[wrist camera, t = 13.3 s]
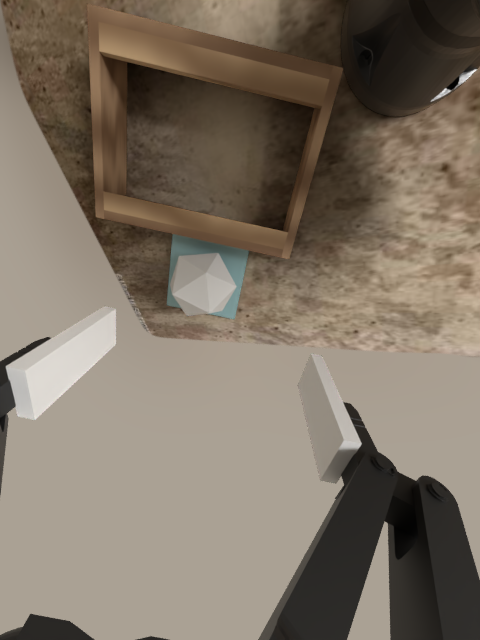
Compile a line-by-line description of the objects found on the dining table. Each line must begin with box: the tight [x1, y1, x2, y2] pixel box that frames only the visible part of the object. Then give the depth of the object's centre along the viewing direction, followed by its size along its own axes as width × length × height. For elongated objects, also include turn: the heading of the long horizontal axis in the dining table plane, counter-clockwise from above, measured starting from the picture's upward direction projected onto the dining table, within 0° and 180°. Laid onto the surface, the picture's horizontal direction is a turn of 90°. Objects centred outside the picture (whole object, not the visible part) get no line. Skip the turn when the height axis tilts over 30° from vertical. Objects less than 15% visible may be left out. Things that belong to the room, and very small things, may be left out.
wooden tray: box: [87, 3, 344, 259], centre depth 28 cm, size 18×24×6 cm
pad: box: [167, 234, 249, 319], centre depth 36 cm, size 11×11×1 cm
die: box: [170, 253, 237, 316], centre depth 32 cm, size 8×9×10 cm
